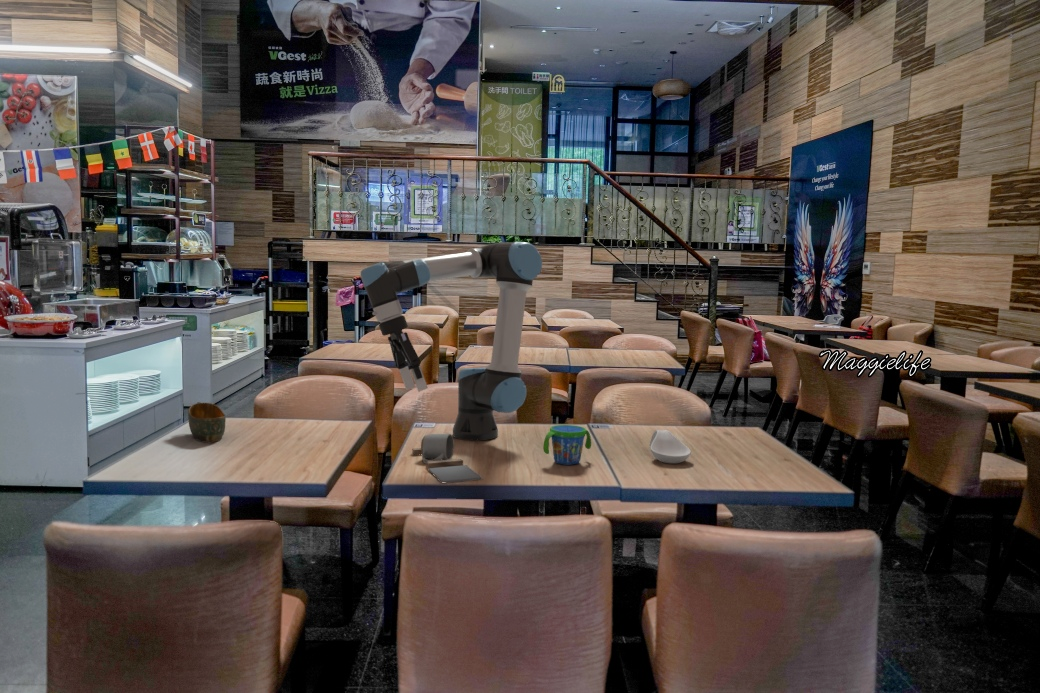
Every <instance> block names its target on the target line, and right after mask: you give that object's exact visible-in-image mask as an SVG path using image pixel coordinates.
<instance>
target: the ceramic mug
mask: <svg viewBox="0 0 1040 693" xmlns="http://www.w3.org/2000/svg"><path fill="white" fill-rule="evenodd" d="M454 444H455V443H454V437H453V434H451V433H429V434H425V435H424V436H423V437H422V438H421V442H420V448H421V453H422V455H421V459H422V462H423V463H424V464H426V463H427V462H428V461H440V460H452V459H453V455H454V446H455V445H454Z"/></svg>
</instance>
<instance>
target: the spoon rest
mask: <svg viewBox="0 0 1040 693" xmlns="http://www.w3.org/2000/svg"><path fill="white" fill-rule="evenodd" d="M649 447H650V452H651V454H652V456H653V457H654V458H655V459H657V460H658V461H660V462H661V463H664V464H674V465H675V464H680V463H683V462H685V461H686V460H688V459H689V457H690V456H691V453H692V451H691V449H690V448H689V447H688V446H687V445H686V444H684V443H683V442H682V441H681V440H680V439H678V438H677V437H676V436H675V435H674V434H673V433H672V432H671V431H669V430H668V429H662V430H661V429H655V430H654V432H652V435H651V438H650V441H649Z"/></svg>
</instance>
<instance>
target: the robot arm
mask: <svg viewBox="0 0 1040 693" xmlns="http://www.w3.org/2000/svg"><path fill="white" fill-rule="evenodd" d="M542 267H543V259H542V256H541V253H540V252H539V250H538V248H537V247H536V246H535V245H534V244H532V243H529V242H524V241H511V242H510V241H509V242H508V241H507V242H496V243H490V244H487V245H481V246H479V247H478V246H477V247H472V248H469V249H467V250H466V252H465V251H464V252H459V253H458V252H457V253H451V254H442V255H435V256H427V257H420V258H418V257H417V258H412V259H411V258H410V259H405V260H398V261H397V260H395V261H388V262H386V261H382V262H377V263H375V264H373V265H370V266H368V267H365V268H363V269H362V270H361V271H360V277H361V281H362V284H363V287H364V289H365V292H366V294H367V297H368V300H369V302H370V305H371V307H372V311H373V312H372V313H371V314H372V315H373V316H375V318H376V321H377V322H380V323H378V326H379V329H380V332H381V333H380V334H382V336H384V337H385V336H388V335H389V336H388V337H387V340H388V343H389V345H390V349H391V353H392V357H393V362H394V366H395V367H396V368H397V369H398V371H399V374H400V377H401V379H402V382H403V384H404V388H405V389H406V391H409V390H412V389H415V388H416V390H417V393H418V392H419V393H420V392H421V391H422V392H423V391H424V390H426V389H429V387H428V384H427V382H426V379H425V376H424V373H423V371H422V368H421V363H422V361H421V360H420V357H419V355H418V353H417V352H416V350H415V347H414V346H413V344H412V342H411V339H410V337H409V334H408V333H407V331H405V332H403V330H404V329H407V328H408V322H407V319H406V317H405V316H404V315H402V314H404V311H403V308H402V305H401V303H400V300H399V298H398V294H400V293H403V292H406V291H409V290H412V289H416V288H420V287H422V286H425V285H426V284H428V283H429V282H435V281H442V280H449V279H455V278H462V277H468V276H470V277H471V278H472V279H475V278H476V279H477V278H494V279H495V284H496V285H497V286H498V287H499V293H498V300H497V302H498V303H497V311H496V320H495V328H494V335H493V343H492V352H491V360H490V363H489V364H488V365H486V367H484V366H483V367H471V368H470V367H468V368H462V369H460V370H459V372H458V380H457V382H458V384H457V386H458V388H457V389H458V393H457V394H458V395H457V396H458V397H457V399H458V400H457V402H458V405H457V408H458V409H457V416H456V419H455V421H454V424H453V427H452V437H453V436H454V437H453V438H455V439H458V438H459V439H458V440H465V441H487V440H492V439H495V438H497V437H498V433H499V429H498V425H497V422H496V418H495V415H494V412H496V413H503V414H511V413H513V412H516V411H518V409H519V408H520V407H522V406H523V404H524V402H525V400H526V397H527V385H525V382H524V381H523V379H522V373H523V372H522V370H521V369H520V367H519V365H518V364H519V356H520V349H521V348H520V347H521V341H522V333H523V325H524V316H525V307H526V298H527V292H528V291H529V290H530V289H532V288H533V283H534V282H533V281H534V279H536V278H537V277H538V275H540V273H541V271H542Z"/></svg>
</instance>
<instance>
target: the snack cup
mask: <svg viewBox="0 0 1040 693" xmlns="http://www.w3.org/2000/svg"><path fill="white" fill-rule="evenodd" d="M590 434H591V433H590V432H589V430H587V429H586V427H583V426H579V425H574V424H573V425H572V424H555V425H553V426H551V427H549V431H548V432H547V434H546V435H545V437H544V441H543V446H542V448H543V452H544V454H546V455H549V454H550V450H549V449H550V439H551V444H552V453H553V460H554V461H555V463H556V464H560V465H564V466H571V465H575V464H578V465H579V464H580V461H581V458H582V453H583V448H584V447H585V449H588V450H590V449H591V447H592V438H591V435H590ZM585 436H586V437H585ZM585 438H586V439H585ZM584 439H585V444H584Z"/></svg>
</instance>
